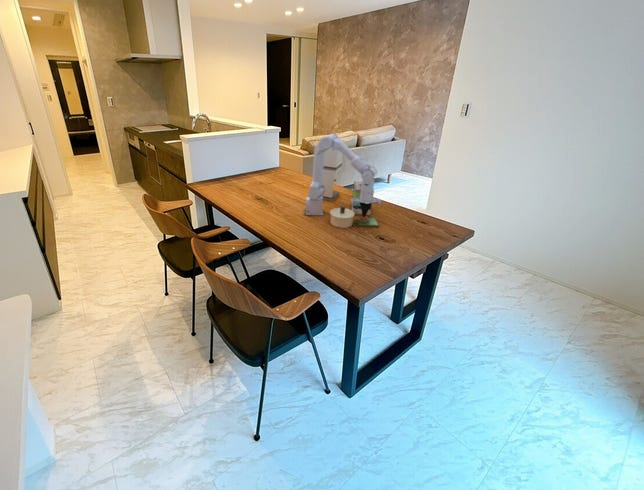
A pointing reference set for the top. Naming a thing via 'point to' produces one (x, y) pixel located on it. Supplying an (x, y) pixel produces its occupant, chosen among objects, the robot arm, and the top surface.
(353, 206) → the tea box
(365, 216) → the button
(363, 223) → the release base
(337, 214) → the tin lid
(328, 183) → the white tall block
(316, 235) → the top surface
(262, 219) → the top surface
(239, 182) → the top surface
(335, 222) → the tin
